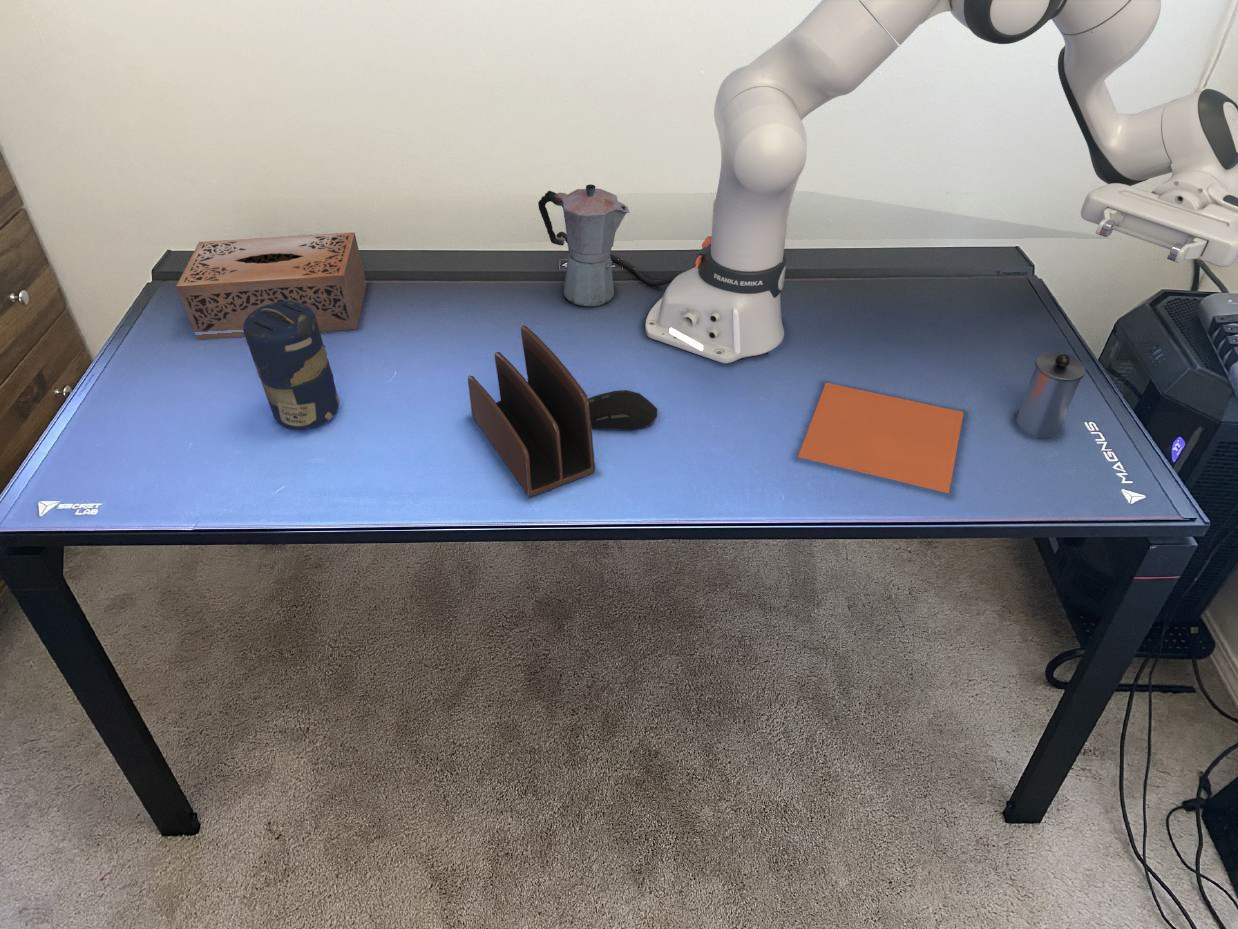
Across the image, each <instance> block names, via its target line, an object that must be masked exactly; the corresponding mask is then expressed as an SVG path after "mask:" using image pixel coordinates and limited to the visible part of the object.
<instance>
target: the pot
mask: <svg viewBox="0 0 1238 929" xmlns="http://www.w3.org/2000/svg"><path fill="white" fill-rule="evenodd" d="M1034 364H1035V367H1034V369H1033V373H1032V375H1031V378H1030V380H1029V384H1028V387H1027V389H1026V392H1025V394H1024V396H1023V400H1022V403H1021V405H1020V408H1019V411H1018V413H1017V416H1016V424H1017V426H1018V427H1019V428H1020V429H1021V430H1022V431H1023V432H1025V433H1027V434H1029V435H1031V436H1035V437H1036V439H1040V440H1047V439H1052V438H1053V439H1054V438H1055V437H1056V436H1058V435H1059V433H1060V431H1061V428H1062V426H1063V424H1064V421H1065V419H1066V416H1067V414H1068V411H1069V408H1070V406H1071V404H1072V402H1073V399H1074V397H1075V394H1076V392H1077V390H1078V386H1079V384H1080V382H1081V380H1082V379H1083V378H1084V376H1085V375H1086V372H1087V370H1086V366H1085V364H1084V363H1083V362H1082V361H1081V360H1080V359H1078V358H1076V357H1075V356H1072V355H1070V354H1067V353H1063V352H1057V351H1050V352H1044V353H1042V354H1039V356H1037V358H1036V360H1035V363H1034Z"/></svg>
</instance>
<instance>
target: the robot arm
mask: <svg viewBox="0 0 1238 929" xmlns="http://www.w3.org/2000/svg"><path fill="white" fill-rule="evenodd" d="M1161 9H1162V0H821V1H820V2H819V3H818V4H817V5H816V6H815V7H814V8H813V9H812V10H811V11H810V12H809V13H808V15H807V16H805V17H804V19H803V20H802V21H801V22H800V23H799V24H798V25H797V26H796V27H794V29H792V30H791V31H790V32H789V33H787V34H786V35H785V36H784V37H783V38H781V39H780V40H778V42H776V43H775V44H774V45H772V46H771V47H768V49H767V50H765V51H764V52H763V53H761V54H760V55H759V56H757V57H756V58H755V59H754V60H752V61H751V62H750V63H748V64H747V65H744V66H741V67H739V68H736V69H734V70H732V71H731V72H730V73H729V74H728V75H726V77H725V78H724V79H723V80H722V82H721V84H720V85H719V88H718V90H717V93H716V97H715V102H714V107H713V118H714V123H715V127H716V130H717V133H718V134H717V135H718V141H719V146H720V158H721V159H720V170H719V178H718V185H717V190H716V196H715V198H714V201H713V203H712V204H713V205H712V206H713V207H712V208H713V209H712V222H711V235H708V236H706V238H704V241H703V242H702V243H701V248H700V250H699V251H698V253H697V258H696V259H695V266H694V267H692V268H689V269H688V270H686V271H683V272H681V273H679V274H677V273H676V274H675V275H674V276H675V277H667V278H662V279H659V280H654V279H650V278H648V277H647V276H645V275H644V274H643V273H642V272H641V270H640V269H638V268H637V267H636V266H635V265H633V264H631V263H630V262H628V261H626V260H624V259H622V258H621V257H619V256H616V255H615V254H612V253H611V254H610V258H611V261H613V262H615V263H617V264H619V265H621V266H623V267H625V269H627V270H629V271H631V272H632V273H633V274H634V275H635V276H637V278H638V279H640V280H641V282H643V283H644V284H647V285H649V286H653V287H660V286H664V285H668V286H667V287H666V289H665V291H664V293H663V295H662V297H661V298H660V299H658V301H657V302H655V304H654V305H653V306H652V308H651V309H650V310H649V312H648V314H647V316H646V319H645V325H644V331H645V335H646V336H647V337H648V338H649V339H652V340H655V341H657V342H660V343H663V344H666V345H670V346H672V347H675V348H678V349H680V350H683V351H687V352H690V353H693V354H695V355H698V356H700V357H704V358H706V359H709V360H712V361H715V362H718V363H720V364H731V363H733V362H736V361H738V360H740V359H742V358H748V357H755V356H760V355H764V354H766V353H769V352H770V351H772V350H774V349H775V348H777V347H778V346H779V345H780V344H781V343H782V342H783V340H784V338H785V329H784V324H783V319H782V318H783V317H782V309H781V308H782V307H781V306H782V305H781V304H782V303H781V292H782V290H783V289H784V284H785V277H786V270H787V266H786V261H787V255H786V252H785V246H786V238H787V229H788V222H789V221H788V220H789V215H790V214H789V213H790V210H791V209H790V208H791V204H792V201H793V197H794V194H795V191H796V188H797V184H798V180H799V177H800V176H801V174H802V173H803V170H804V169H805V165H806V161H807V151H808V144H807V143H808V142H807V139H808V138H807V131H806V127H805V125H804V122H803V120H804V119H805V118H806V117H807V116H808V115H810V114H811V113H812V112H814V111H815V110H818V108H820V107H821V106H823V105H825V104H826V103H828V102H829V101H831V100H834V99H835V98H838V97H842V96H846V95H848V94H850V93H852V92H853V91H855V90H856V89H857V88H858V87H859V86H860V85H862V83H863V82H864V81H865V80H867V78H868V77H870V76H871V74H873V73H874V71H876V70H877V69H878V68H879V67H880V66H881V65H882V64H883V63H884V62H885V61H886V60H887V59H888V58H890V56H891V55H892V54H893V53H895V51H896V50H897V49H898V48H899V47H900V46H901V45H902V44H903V43H905V41H906V40H907V39H908V38H909V37H910V36H912V35H913V33H914V32H915V31H916V29H918V27H919V26H921V25H923V24H924V23H925V22H926V21H928V20H930V19H931V18H933V17H935V16H937V15H940V14H942V13H946V12H950V14H951V15H952V17H953V18H955V20H956V21H958V22H959V23H960V24H961V25H962V26H963V27H965V28H967V29H968V30H970V32H971V33H972V34H973V35H974V36H976V37H977V38H979V39H980V40H983V41H985V42H988V43H992V44H996V45H1009V44H1014V43H1018V42H1020V41H1023V40H1024V39H1026V38H1029V37H1031V36H1032V35H1033V34H1035V33H1037V31H1039V30H1041V28H1043V27H1044V26H1045V25H1046V24H1047V23H1048V22H1049V21H1050V20H1051V21H1052V22H1053V24H1054V26H1055V27H1056V28H1057V30H1058V32H1060V34H1061V36H1062V38H1063V41H1064V45H1063V47H1062V48H1061V49H1060V51H1059V53H1058V58H1057V73H1058V78H1059V82H1060V84H1061V87H1062V88H1061V89H1062V90H1063V93H1064V95H1065V98H1066V101H1067V102H1068V105H1069V107H1070V110H1071V111H1072V113H1073V114H1072V115H1073V117H1074V118H1075V121H1076V123H1077V125H1078V127H1079V129H1080V132H1081V134H1082V136H1083V139H1084V141H1085V144H1086V145H1087V148H1088V153H1089V158H1090V161H1091V164H1092V165H1091V166H1092V167H1093V170H1094V172H1095V175H1096V176H1097V177H1098V178H1099V180H1101V181H1102V182H1104V183H1105V185H1102V186H1099V187H1098V188H1095V189H1093V190H1091V191H1090V192H1088V193H1087V195H1086V197H1085V198H1084V200H1083V204H1082V206H1081V209H1080V216H1081V219H1083V220H1084V221H1087V222H1090V223H1093V224H1095V225H1098V226H1097V229H1096V230H1095V231H1096V232H1095V235H1098V236H1101V237H1105V238H1108V237H1109V236H1111V235H1112V233H1113V231H1115V232H1118V233H1122V234H1124V235H1127V236H1130V237H1133V238H1135V239H1139V240H1142V241H1144V242H1147V243H1150V244H1154V245H1155V246H1158V247H1162V248H1164V249H1167V250H1170V251H1169V254H1168V255H1167V257H1166V259H1167V260H1170V261H1172V262H1175V263H1177V264H1179V263H1181V262H1182V261H1183V260H1185V261H1186V260H1199V261H1202V262H1205V263H1208V264H1211V265H1214V266H1216V267H1219V268H1229V267H1232V266H1233V264H1234V263H1235V262H1236V260H1237V259H1238V104H1237V103H1236V101H1234V100H1233V99H1232V98H1230V97H1229V96H1227V95H1226V94H1225V93H1223V92H1222V91H1218V90H1216V89H1212V88H1205V89H1202V90H1199V91H1196V92H1193V93H1190V94H1187V95H1184V96H1181V97H1178V98H1175V99H1173V100H1170V101H1168V102H1165V103H1162V104H1159V105H1156V106H1153V107H1151V108H1148V109H1144V110H1141V111H1139V112H1135V113H1120V112H1118V111H1117V109H1116V108H1117V107H1116V105H1115V104H1114V101H1113V99H1112V96H1111V94H1110V91H1109V88H1108V85H1107V84H1106V82H1105V80H1106V79H1107V78H1108V77H1110V76H1111V75H1112V74H1113V73H1114V72H1115V71H1116V70H1118V69H1119V68H1120V67H1122V66H1123V65H1124V64H1126V63H1128V62H1129V61H1130V60H1131V59H1132V58H1133V57H1134V56H1135V55H1136V54H1137V53H1138V52H1139V51H1140V50H1141V49H1142V48H1143V46H1145V44H1146V43H1147V41H1148V40H1149V38H1150V37H1151V35H1152V34H1153V32H1154V30H1155V28H1156V26H1157V24H1158V21H1159V18H1160V14H1161ZM1167 174H1171V176H1170V177H1169V178H1168V179H1167V180H1165V181H1164V182H1162V183H1161V184H1159V185H1158V186H1157V187H1155V188H1154V189H1153V190H1152V191H1147V190H1144V189H1141V188H1137V187H1135V185H1138V184H1140V183H1143V182H1146V181H1148V180H1150V179H1154V178H1156V177H1160V176H1164V175H1167ZM555 235H556V238H557V239H560V238H562V239H563V240H564V242H565V243H566V244H567V245H568V241H567V234H566V232H565V231H559V232H558V233H557V234H555ZM618 259H619V260H618ZM633 268H636V269H637V270H638V271H637V270H635V269H633Z"/></svg>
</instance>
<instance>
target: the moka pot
mask: <svg viewBox="0 0 1238 929" xmlns="http://www.w3.org/2000/svg"><path fill="white" fill-rule="evenodd" d="M550 202H551V203H552V204H554V205H555V206H557V207H558V206H559V207H561V208H562V210H563V218H564V225H565V233H566V234H567V241H568V244H567V250H568V253H567V259H566V260H567V261H566V269H565V276H564V281H563V282H564V283H563V296H564V297H565V299H567V301H569V302H571V303H573V304H575V305H578V306H582V307H597V306H602V305H604V304H606V303H608V302H610V301H611V300H612V298H613V297H614V296H615V289H614V280H613V279H614V278H613V269H612V268H613V267H612V260H611V258H610V254H612V248H613V247H614V242H615V237H616V232H617V231H618V229H619V227H620V226H621V223H622V221H623V219H624V218H625V216H626V215H627V214H629V213H630V209H629V206H626V204H625V203H622V202H620V201H619V200H618V196H617V194H614V193H612V192H609V191H607V190H604V189H603V188H596V185H594V184H591V183H590V184H586V186H585V188H577V189H576V190H573V191H571V192H569V193H565V192H558V193H557V192H555V191H552V190H547V192H545V193H544V195H542V197H541V198H540V200H538V201H537V205H538V211H539V213H540V215H541V216H540V217H541V219H542V220H543V224H544V226H545V229H546V232H547V235H548V238H549V241H550V243H551V244H553V245H558V246H565V245H564V244H565V243H566V241H565V240H564V239H560V238H558V237H556V235H557V234H556V233H555V231H554V230H553V224H552V220H551V218H550V216H549V212H548V209H547V207H546V205H547V204H548V203H550Z"/></svg>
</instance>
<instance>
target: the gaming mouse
mask: <svg viewBox="0 0 1238 929" xmlns="http://www.w3.org/2000/svg"><path fill="white" fill-rule="evenodd" d="M588 401H589V411H590V421H591V427H592V429H598V430H599V429H600V430H621V431H634V430H640V429H644V428H645V429H646V427H648V426H650V425H651V424H652V423H653V422H654V421H655V420H656V419H657V418H658V408H657V407H656V406H655V405H654V404H653V403H652V402H651V401H650V400H648V399H647V398H646V397H645V396H644V395H642V394H641V393H640V392H636V391H632V390H627V389H623V390H622V389H621V390H613V391H612V390H611V391H608V392H603V393H600V394H597V395H594V396H592V397H591V396H590V397H588Z"/></svg>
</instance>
